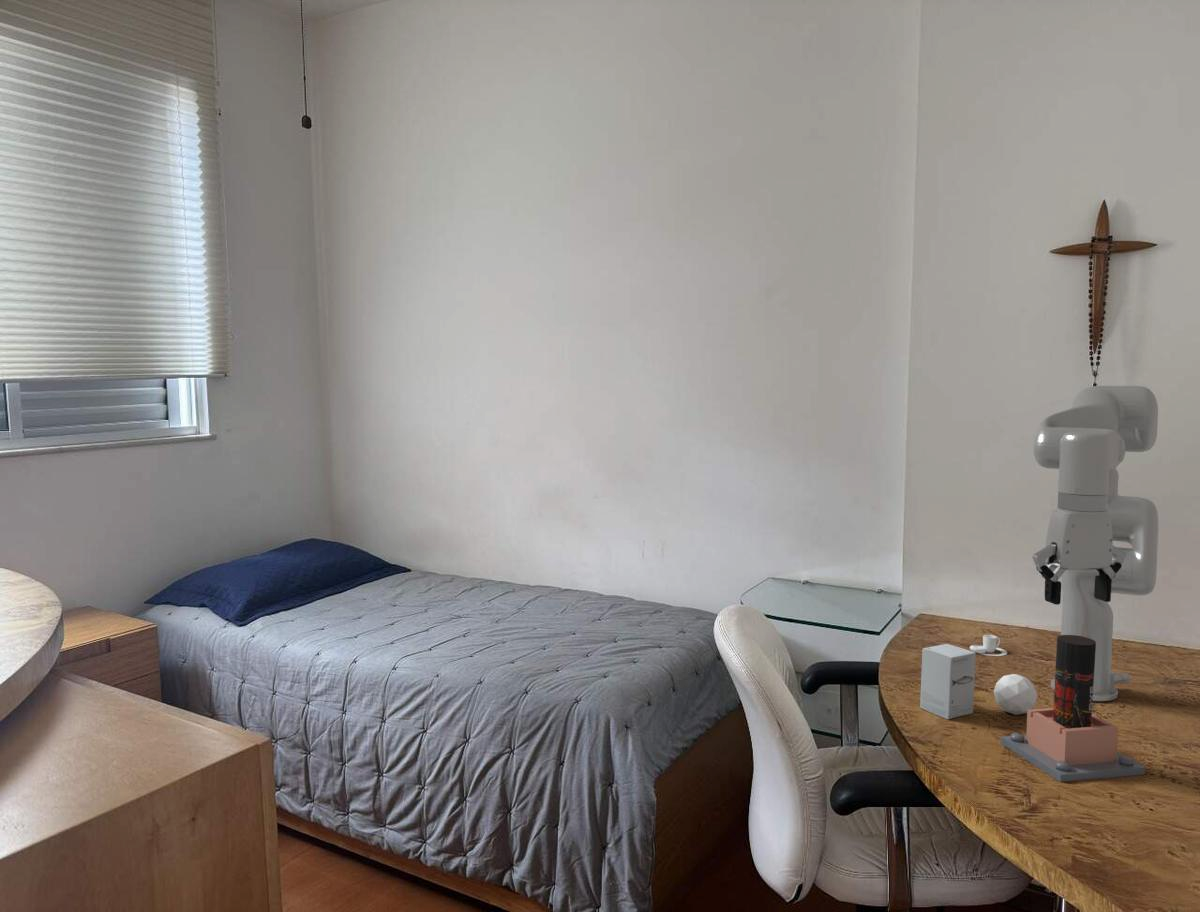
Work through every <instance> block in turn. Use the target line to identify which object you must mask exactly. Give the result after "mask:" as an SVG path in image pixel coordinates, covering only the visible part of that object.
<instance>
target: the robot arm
mask: <svg viewBox="0 0 1200 912" xmlns="http://www.w3.org/2000/svg"><path fill="white" fill-rule="evenodd" d="M1157 401H1158V400H1157V397H1156V395H1155V394H1154V392H1153V391H1152V390H1151V389H1150V388H1148V387H1147V386H1141V385H1094V386H1089V387H1086V388H1084V389H1082V390H1080V391H1079V392H1078V393H1077V395H1076V396H1075V397H1074V400H1073V402H1072V405H1071V408H1068V409H1066V410H1063V411H1060V412H1056V413H1053V414H1050V415H1049V416H1047V417H1045V418H1044V419H1043V420H1042V421H1041V423H1040V424H1039V425H1038V426H1039V427H1038V429H1037V431H1036V435H1035V437H1034V442H1033V456H1034V458H1035V462H1036V463H1037V464H1038V465H1039V466H1041V467H1042V468H1046V469H1055V470H1057V469H1058V484H1057V485H1058V487H1057V489H1058V490H1057V491H1058V492H1057V507H1056V508H1057V509H1055V510H1052V512H1051V516H1050V519H1049V523H1048V526H1047V527H1048V528H1047V532H1046V538H1045V547H1044V548H1042V549H1041V550H1038V552H1037V551H1036V553H1034V554H1033V555H1032V556H1031V557H1032V560H1033V562H1034V566H1036V567H1035V568H1036V571H1037V572H1039V574H1040V575H1041V577H1042V578H1043V579H1044V600H1045V602H1048V603H1050V604H1053V605H1056V606H1057V605H1060V604H1061V602H1062V610H1061V611H1062V612H1061V625H1060V626H1061V630H1060V631H1061V632H1060V635H1077V636H1083V637H1087V638H1090V639H1093V640H1094V641H1095V642H1096V651H1095V668H1094V685H1093V702H1109V701H1114V700H1115V699H1117V698H1118V697H1119V696H1118V695H1119V691H1118V689H1117V688H1116V687H1115V686H1116V685H1117V684H1118V683H1119V684H1124V683H1126V684H1127V683H1129V682H1131V676H1130V675H1129V673H1125V672H1124V673H1117V674H1116V672H1115V671H1113V670H1111V669H1112V668H1111V667H1112V652H1113V651H1112V649H1113V632H1114V631H1113V629H1114V612H1113V610H1112V609H1113V608H1112V607H1111V605H1110V604H1109V603H1110V602H1111V600H1112V599H1111V598H1112V597H1111V596H1112V594H1120V595H1132V596H1147V595H1149V594H1151V593H1152V592H1153V591H1154V589H1155V587H1156V583H1157V582H1156V581H1157V570H1158V569H1157V568H1158V547H1159V544H1158V543H1159V513H1158V509H1157V507H1156V504H1155V503H1154V502H1153V501H1152V500H1151V499H1149V498H1145V497H1139V496H1127V495H1124V496H1122V495H1120V494H1119V492H1118V491H1119V470H1117V468H1118V466H1119V465H1120V464H1121V463H1122V462H1123V461H1124V459H1125V455H1126V453H1127V452H1128V453H1129V452H1131V453H1133V452H1134V453H1143V452H1148V451H1149V450H1151V449H1153V447H1154V445H1155V443H1156V440H1157V435H1158V422H1159V421H1158V420H1159V407H1158V402H1157ZM1113 542H1123V543H1128V544H1130V545H1131V546H1132V548H1129V547H1121V546H1119V547H1117V546H1115V545H1114V543H1113ZM1060 580H1061V581H1060ZM1061 598H1062V600H1061ZM1050 688H1051V689H1052V690H1053V691H1054V688H1055V677H1054V678H1053V679H1051V680H1050Z"/></svg>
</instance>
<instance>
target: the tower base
mask: <svg viewBox="0 0 1200 912" xmlns="http://www.w3.org/2000/svg"><path fill="white" fill-rule="evenodd" d="M1118 736H1119V726H1117V725H1114V724H1113V725H1112V723H1111V722H1109V721H1107V720H1105V719H1103V718H1101V717H1099V716H1097V715H1095V714H1093V713H1092V719H1091V727H1083V728H1069V729H1068V728H1065V727H1063V726H1062V725H1060V724H1058V723H1056V722H1054V721H1053V707H1046V708H1032V709H1029V710H1027V713H1026V734H1022V733H1019V732H1012V733H1011V734H1010V735H1003V736H1000V744H1002V745H1003V746H1005V747H1006V748H1008V749H1009V750H1011V751H1012V752H1014V753H1015V754H1017V755H1019V756H1020V757H1021V758H1023V759H1025V760H1026V761H1028V762H1029V763H1031V764H1032V765H1034V766H1035V767H1037V768H1038V769H1040V770H1041V771H1043V772H1044V773H1046V774H1047V775H1049V776H1050V777H1052V778H1054V779H1055V780H1057V781H1059V782H1060V783H1063V782H1073V781H1074V782H1075V781H1084V780H1085V781H1086V780H1095V779H1108V778H1110V779H1111V778H1117V777H1118V778H1119V777H1133V776H1141V775H1145V774H1146V767H1145V766H1143V765H1141V764H1139V763H1138V762H1136V761H1135V759H1134V758H1133V757H1131V756H1128V755H1124V754H1121V752H1118V741H1119V739H1118V738H1119V737H1118Z"/></svg>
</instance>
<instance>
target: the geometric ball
mask: <svg viewBox="0 0 1200 912" xmlns="http://www.w3.org/2000/svg"><path fill="white" fill-rule="evenodd" d="M993 695H994V698H995V702H996V704H997V705H998V707H1000V708H1001V710H1002V711H1004V712H1006V713H1008V714H1012V715H1014V716H1017V715H1022V714H1023V715H1024V714H1027V710H1029V709H1034V707H1035V706H1036V701H1037V698H1038V694H1037V691H1036V687H1035V685H1034V684H1033V683H1032V682H1031V681H1030V680H1029V679H1028V678H1027V677H1025V676H1022V675H1019V674H1017V673H1012V674H1006V675H1003V676H1002V677H1000V678H999V680H998V681H997V682H996V683H995V686H994V689H993Z"/></svg>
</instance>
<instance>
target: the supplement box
mask: <svg viewBox="0 0 1200 912" xmlns="http://www.w3.org/2000/svg"><path fill="white" fill-rule="evenodd" d="M921 650H922V651H921V654H922V655H921V672H920V673H921V674H920V677H921V678H920V696H919V697H920V699H919V702H920V703H919V705H920V706H919V708H920V709H921V710H924V711H926V712H929V713H931V714H933V715H936V716H938V717H939V718H940V717H941V718H942V719H945V720H947V721H948V720H951V719H953V718H958V717H962V716H966V715H972V714H973V713H974V704H975V703H974V702H975V701H974V700H975V683H976V682H975V678H976V655H977V653H976V652H973V651H971V650H968V649H965V648H962V647H958V646H956V645H952V644H950V643H944V644H939V645H934V646H933V645H932V646H929V647H924V648H922V649H921Z"/></svg>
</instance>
